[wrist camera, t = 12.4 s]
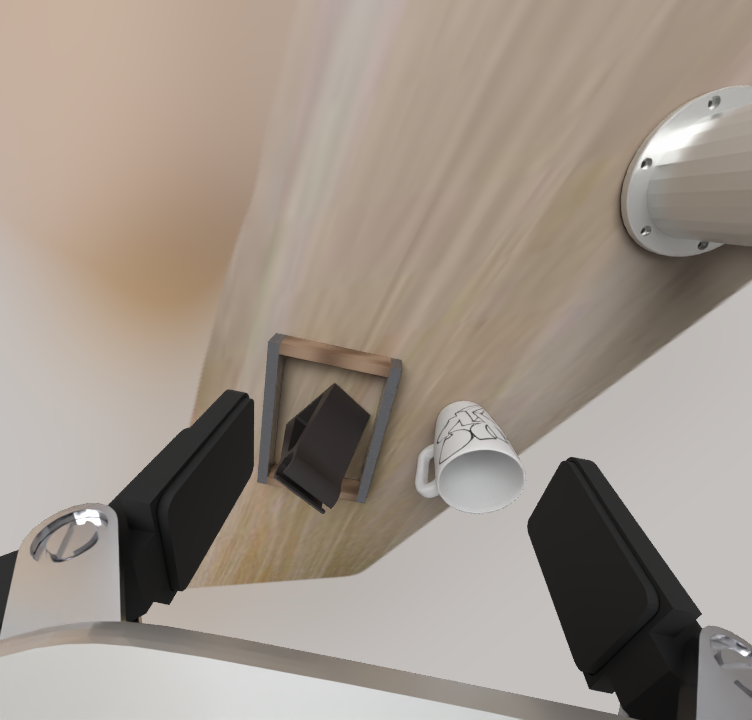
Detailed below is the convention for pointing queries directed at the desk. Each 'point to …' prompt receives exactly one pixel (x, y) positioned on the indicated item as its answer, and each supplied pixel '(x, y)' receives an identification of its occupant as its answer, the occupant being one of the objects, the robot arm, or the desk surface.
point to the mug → (470, 462)
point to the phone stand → (321, 447)
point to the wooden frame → (335, 357)
